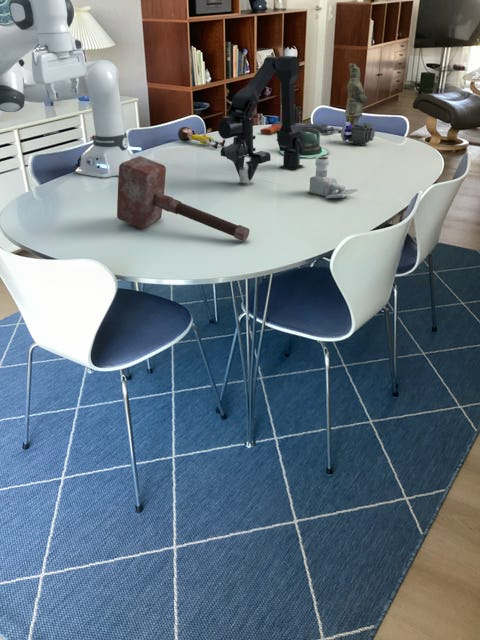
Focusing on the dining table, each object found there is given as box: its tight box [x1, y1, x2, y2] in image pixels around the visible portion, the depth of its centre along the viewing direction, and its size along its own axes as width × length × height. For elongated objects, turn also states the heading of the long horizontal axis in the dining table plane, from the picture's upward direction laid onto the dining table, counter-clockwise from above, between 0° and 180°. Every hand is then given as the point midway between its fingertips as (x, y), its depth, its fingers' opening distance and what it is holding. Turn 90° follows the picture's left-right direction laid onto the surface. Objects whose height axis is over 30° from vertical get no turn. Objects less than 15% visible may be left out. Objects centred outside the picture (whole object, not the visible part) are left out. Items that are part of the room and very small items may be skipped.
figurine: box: [177, 126, 226, 150], centre depth 251 cm, size 13×8×25 cm
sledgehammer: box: [116, 155, 250, 242], centre depth 156 cm, size 17×10×40 cm
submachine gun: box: [260, 121, 335, 136], centre depth 265 cm, size 32×3×25 cm
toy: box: [338, 121, 376, 146], centre depth 244 cm, size 9×9×15 cm
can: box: [239, 166, 252, 184], centre depth 197 cm, size 4×4×5 cm
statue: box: [344, 62, 368, 127], centre depth 262 cm, size 11×9×30 cm
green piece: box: [279, 128, 328, 159], centre depth 234 cm, size 15×19×20 cm
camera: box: [308, 155, 359, 199], centre depth 182 cm, size 9×12×15 cm
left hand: (64, 96), depth 163 cm, fingers open, 8 cm apart
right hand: (245, 178), depth 197 cm, fingers closed on can, 4 cm apart
